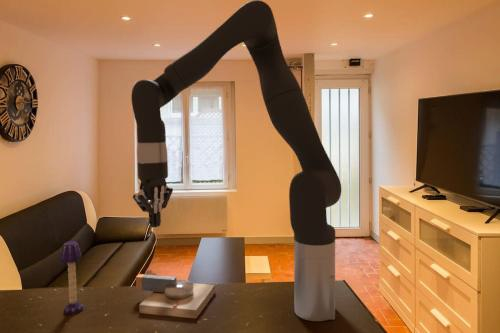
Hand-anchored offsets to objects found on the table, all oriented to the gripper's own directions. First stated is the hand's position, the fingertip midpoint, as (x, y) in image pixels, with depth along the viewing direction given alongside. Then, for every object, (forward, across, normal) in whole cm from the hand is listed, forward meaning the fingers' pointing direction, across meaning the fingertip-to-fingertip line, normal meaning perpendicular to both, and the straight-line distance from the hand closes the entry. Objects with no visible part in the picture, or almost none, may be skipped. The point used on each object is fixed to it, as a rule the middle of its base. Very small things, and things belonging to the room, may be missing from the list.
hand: (155, 226), depth 99 cm
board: (+18, +3, +9) cm, 20 cm away
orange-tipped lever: (+15, +4, +6) cm, 17 cm away
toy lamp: (+18, +17, -11) cm, 27 cm away
